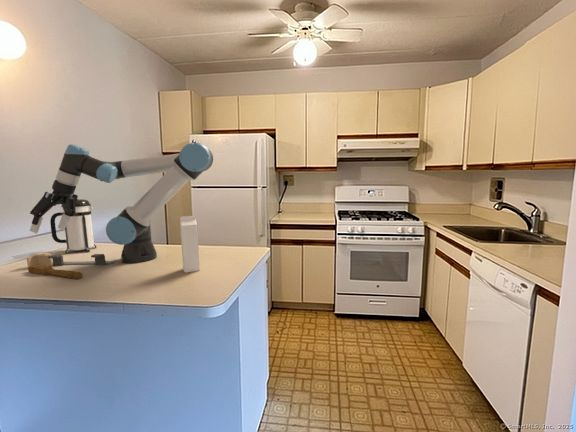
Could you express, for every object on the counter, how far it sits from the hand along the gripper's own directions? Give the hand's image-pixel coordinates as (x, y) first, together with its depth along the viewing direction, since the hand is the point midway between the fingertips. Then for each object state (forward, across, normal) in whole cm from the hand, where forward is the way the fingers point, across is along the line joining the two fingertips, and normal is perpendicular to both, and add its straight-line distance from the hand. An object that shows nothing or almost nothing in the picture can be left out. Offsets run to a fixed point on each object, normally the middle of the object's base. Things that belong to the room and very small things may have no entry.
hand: (47, 230), depth 128 cm
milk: (-8, -2, +60) cm, 61 cm away
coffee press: (+19, -37, -8) cm, 43 cm away
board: (+14, -10, +8) cm, 19 cm away
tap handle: (+15, +3, +12) cm, 19 cm away
